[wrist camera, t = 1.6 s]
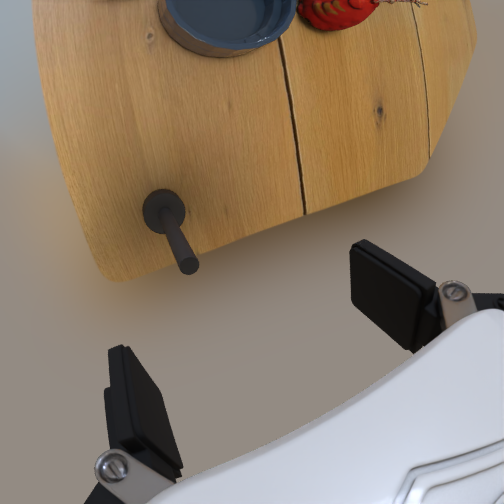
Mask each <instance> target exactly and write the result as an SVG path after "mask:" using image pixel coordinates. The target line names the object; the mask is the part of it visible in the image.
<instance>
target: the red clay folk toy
mask: <svg viewBox="0 0 504 504" xmlns="http://www.w3.org/2000/svg"><path fill="white" fill-rule="evenodd" d="M395 1H399V2H413V3H415V4H416V5H417V6H418V7H419V8H420V6H419V4H417V3H416V2H418V3H420V4H424V5H428V3H424V2H421V1H419V0H299V5H298V7H297V11H298V14H299V15H300V16H302V17H304V19H305V18H307V19H308V22H309V23H310V24H311V25H312V26H314V27H316V28H318V29H321V30H325V31H333V30H343V29H346V28H349V27H352V26H355V25H357V24H359V23H361V22H362V21H364V20H365V19H366V18H367V17H368V16H369V15H370V14H371V13H372V12H373V11H374V10H375V8H376V7H378V5H379V2H388V3H390V4H393V3H394V2H395Z"/></svg>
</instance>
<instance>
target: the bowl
mask: <svg viewBox="0 0 504 504" xmlns="http://www.w3.org/2000/svg"><path fill="white" fill-rule="evenodd" d="M296 3H297V0H158V10H159V15H160V20H161V22H162V24H163V26H164V27H165V29H166V30H167V32H168V33H169V35H170V36H171V37H172V38H173V39H175V40H176V41H177V42H178V43H180V44H181V45H182V46H183V47H185V48H186V49H189V50H191V51H194V52H196V53H199V54H201V55H204V56H213V57H221V58H224V57H231V56H238V55H242V54H245V53H247V52H249V51H252V50H254V49H256V48H259V47H261V46H263V45H265V44H268V43H270V42H272V41H275V40H276V39H277V38H278V37H279V36H280V35H281V34H283V33H284V32H285V31H286V30H287V29H288V27H289V25H290V23H291V21H292V19H293V18H294V16H295V12H296Z"/></svg>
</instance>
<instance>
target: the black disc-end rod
mask: <svg viewBox="0 0 504 504" xmlns="http://www.w3.org/2000/svg"><path fill="white" fill-rule="evenodd" d="M143 216H144V220H145V223H146V225H147V226H148V227H149V229H151V230H152V231H154V232H156V233H159V234H166V237H167V239H168V242H169V244H170V247H171V249H172V252H173V254H174V257H175V259H176V261H177V264H178V266H179V268H180V270H181V272H182V273H183V274H186V275H191V274H193V273H195V272H196V271H197V270H198V268H199V261H198V259H197V258H196V256H195V254H194V252H193V250H192V249H191V247H190V245H189V243H188V241H187V240H186V238H185V236H184V234H183V232H182V231H181V229H180V226H181V224H182V223H183V221H184V218H185V206H184V204H183V202H182V201H181V199H180V198H179V196H178V195H177V194H176V193H174V192H173V191H171V190H167V189H160V190H156V191H154V192H152V193H151V194H150V195H148V197H147V198H146V199H145V201H144V204H143Z"/></svg>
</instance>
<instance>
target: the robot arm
mask: <svg viewBox="0 0 504 504" xmlns="http://www.w3.org/2000/svg"><path fill="white" fill-rule="evenodd" d="M349 254H350V276H351V277H350V278H351V301H352V303H353V305H354V306H355V307H357V308H358V309H359V310H360V311H361V312H362V313H363V314H364V315H366V316H367V317H368V318H369V319H370V320H371V321H373V322H374V323H375V324H376V325H377V326H378V327H379V328H381V329H382V330H383V331H384V332H385V333H387V334H388V335H389V336H390V337H391V338H392V339H393V340H394V341H396V342H397V343H398V344H399V345H400V346H401V347H402V348H403V349H405V350H410V351H411V352H412V353H413V354H414V353H415V354H414V355H413V356H412V357H410V358H409V359H408V360H406V361H405V362H404V363H402V364H401V365H399V366H398V367H397V368H395V369H394V370H392V371H391V372H390V373H388V374H387V375H385V376H384V377H383V378H381V379H380V380H378V381H377V382H375V383H374V384H372V385H371V386H369V387H368V388H366V389H365V390H363V391H362V392H360V393H358V394H357V395H355V396H354V397H352V398H351V399H349V400H347V401H346V402H344V403H342V404H341V405H339V406H337V407H336V408H334V409H332V410H331V411H329V412H327V413H325V414H324V415H322V416H320V417H318V418H317V419H315V420H313V421H311V422H309V423H307V424H306V425H304V426H302V427H300V428H298V429H296V430H294V431H292V432H291V433H289V434H287V435H285V436H283V437H281V438H279V439H276V440H274V441H272V442H270V443H268V444H266V445H264V446H262V447H260V448H257V449H255V450H253V451H251V452H248V453H246V454H244V455H242V456H239V457H237V458H235V459H233V460H230V461H228V462H225V463H223V464H220V465H218V466H216V467H213V468H210V469H208V470H205V471H203V472H201V473H198V474H196V475H194V476H191V477H189V478H187V479H184V480H182V481H180V482H178V483H176V478H179V477H182V475H181V472H180V469H182V468H183V463H182V460H181V457H180V454H179V451H178V448H177V445H176V442H175V439H174V436H173V432H172V429H171V426H170V423H169V419H168V415H167V412H166V408H165V405H164V401H163V397H162V394H161V392H160V390H159V388H158V387H157V386H156V384H155V383H154V382H153V381H152V379H151V378H150V376H149V374H148V373H147V372H146V371H145V369H144V367H143V366H142V365H141V363H140V362H139V360H138V359H137V357H136V356H135V354H134V353H133V351H132V350H131V348H130V347H129V346H127V347H124V346H123V345H118V346H116V347H113V348H111V349H109V350H108V360H109V375H110V387H108V388H105V390H104V400H105V412H106V421H107V430H108V438H109V445H110V450H107V451H105V452H104V453H102V454H101V455H100V456H99V457H98V459H97V461H96V463H95V467H94V469H95V476H96V478H97V480H98V481H99V482H98V484H97V485H96V486H95V488H94V489H93V491H92V492H91V494H90V495H89V497H88V498H87V500H86V501H85V503H84V504H504V294H501V293H500V294H498V293H497V294H492V293H491V294H489V293H486V294H485V293H471V291H470V289H469V288H468V287H467V286H466V285H465V284H463V283H462V282H459V281H453V280H451V281H446V282H444V283H442V284H441V285H440V287H439V288H438V287H436V282H434V281H433V280H431V279H430V278H428V277H427V276H425V275H423V274H422V273H420V272H419V271H417V270H416V269H414V268H412V267H411V266H409V265H408V264H406V263H404V262H403V261H401V260H399V259H398V258H396V257H394V256H393V255H391V254H390V253H388V252H386V251H384V250H383V249H381V248H379V247H378V246H376V245H374V244H373V243H371V242H369V241H368V240H365V239H363V240H361V241H359V242H357V243H355V244H353V245H352V247H351V250H350V252H349ZM422 346H424V347H423V348H422ZM421 348H422V349H421ZM419 349H421V350H419ZM418 350H419V351H418ZM417 351H418V352H417ZM416 352H417V353H416Z"/></svg>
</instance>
